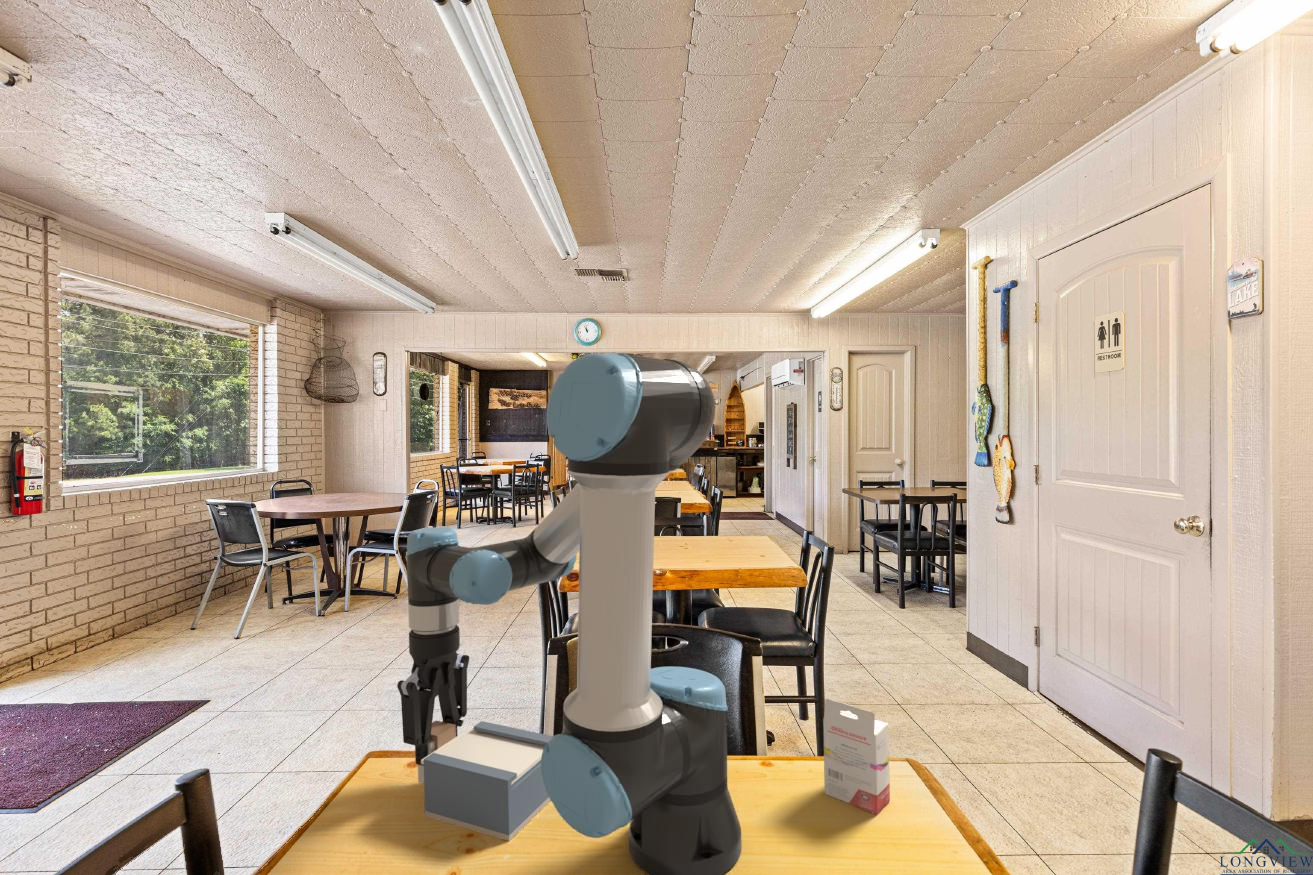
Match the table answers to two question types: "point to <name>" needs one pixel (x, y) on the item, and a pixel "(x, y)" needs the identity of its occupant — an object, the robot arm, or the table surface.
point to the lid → (485, 748)
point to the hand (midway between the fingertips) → (437, 774)
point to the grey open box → (485, 789)
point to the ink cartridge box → (856, 756)
